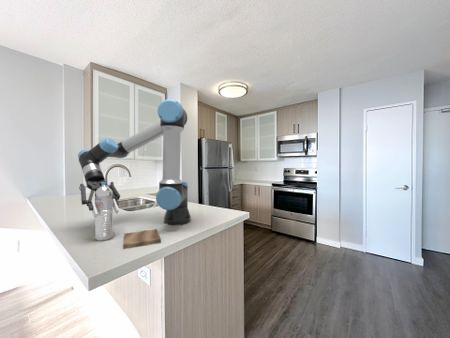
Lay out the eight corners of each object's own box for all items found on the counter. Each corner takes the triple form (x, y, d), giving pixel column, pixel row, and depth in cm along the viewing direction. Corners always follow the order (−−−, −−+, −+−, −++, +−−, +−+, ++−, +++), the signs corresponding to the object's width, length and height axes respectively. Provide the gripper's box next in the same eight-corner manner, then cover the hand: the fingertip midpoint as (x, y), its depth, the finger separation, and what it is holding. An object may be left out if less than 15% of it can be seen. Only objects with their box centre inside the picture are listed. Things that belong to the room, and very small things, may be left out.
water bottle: (115, 238, 86) (114, 182, 85) (97, 242, 81) (97, 183, 80) (110, 234, 90) (109, 181, 90) (93, 238, 85) (92, 182, 85)
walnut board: (156, 232, 93) (156, 229, 93) (160, 242, 81) (160, 239, 81) (124, 236, 87) (124, 233, 87) (123, 248, 75) (123, 245, 75)
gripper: (114, 179, 103) (128, 214, 93) (65, 181, 87) (76, 224, 77) (118, 169, 99) (133, 204, 89) (68, 170, 83) (80, 213, 73)
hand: (107, 213), depth 83 cm, fingers open, 8 cm apart
